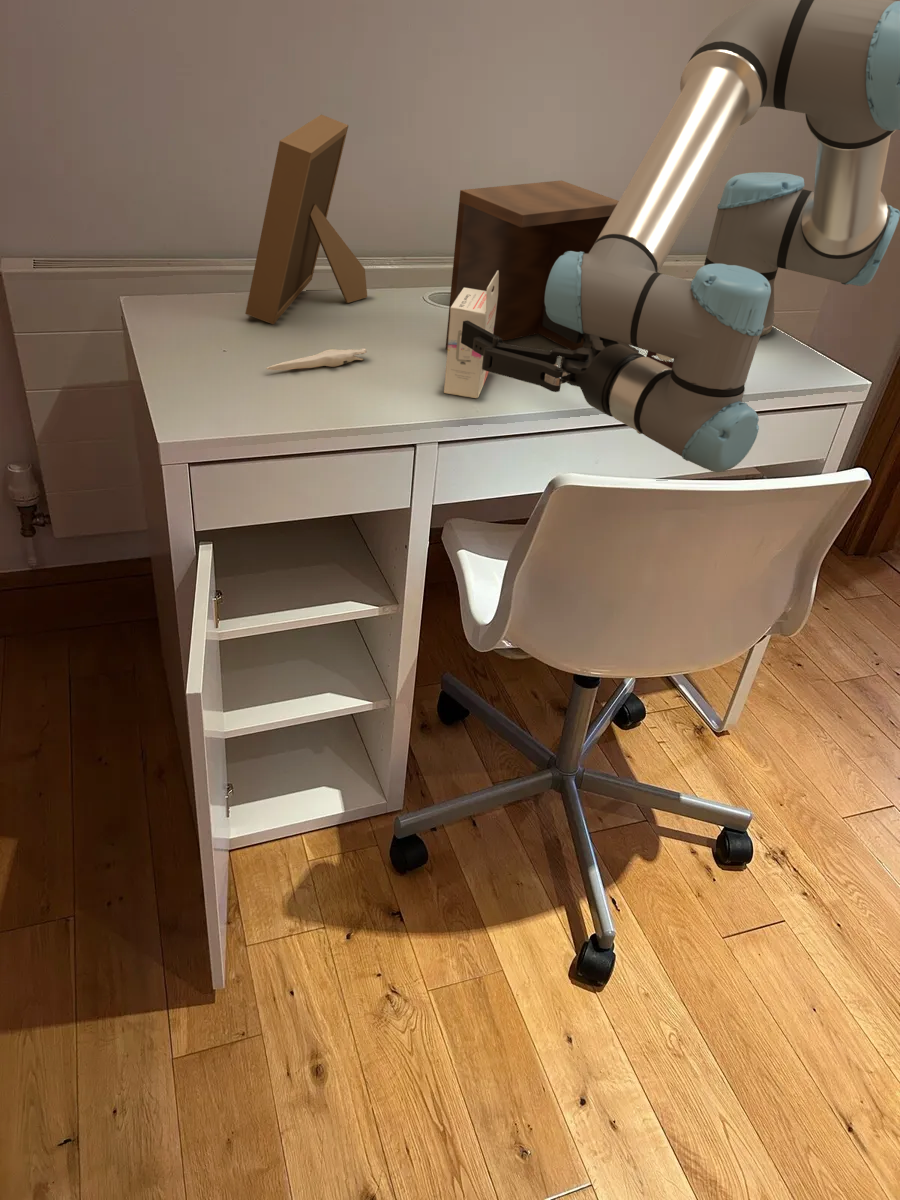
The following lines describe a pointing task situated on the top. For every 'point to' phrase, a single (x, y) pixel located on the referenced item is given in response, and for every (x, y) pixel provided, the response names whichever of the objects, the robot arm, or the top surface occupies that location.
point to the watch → (662, 357)
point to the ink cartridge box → (462, 360)
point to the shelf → (523, 247)
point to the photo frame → (302, 222)
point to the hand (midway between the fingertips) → (506, 323)
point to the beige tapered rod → (321, 359)
